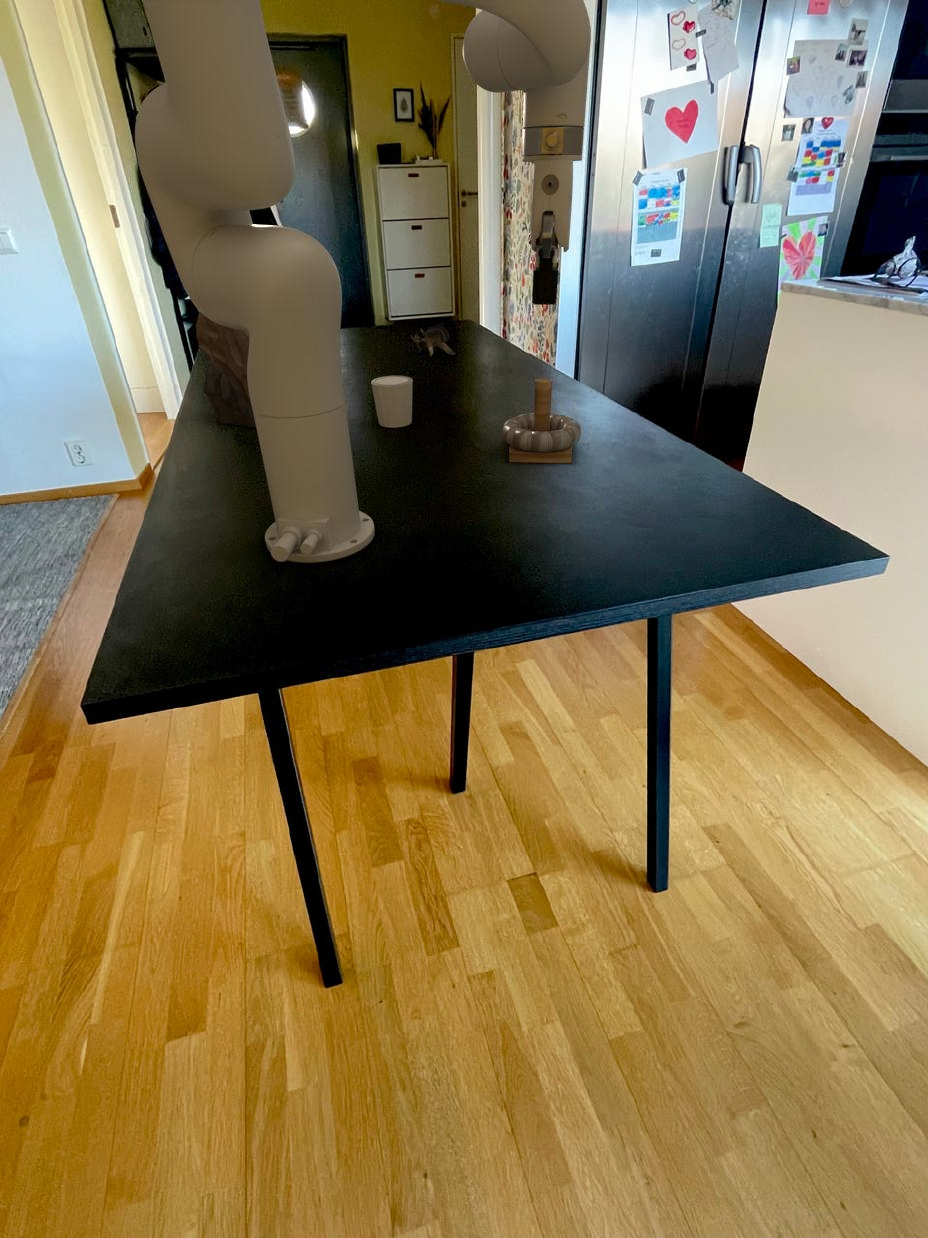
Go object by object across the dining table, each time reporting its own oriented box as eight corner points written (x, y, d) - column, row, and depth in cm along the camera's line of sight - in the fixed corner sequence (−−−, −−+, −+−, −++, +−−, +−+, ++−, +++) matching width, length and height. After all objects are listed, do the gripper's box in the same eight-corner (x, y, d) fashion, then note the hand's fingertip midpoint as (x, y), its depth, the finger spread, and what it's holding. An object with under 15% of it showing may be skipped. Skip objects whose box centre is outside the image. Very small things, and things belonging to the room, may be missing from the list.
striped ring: (580, 455, 94) (581, 436, 92) (498, 453, 95) (498, 434, 94) (580, 429, 103) (581, 411, 102) (506, 427, 105) (506, 409, 103)
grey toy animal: (411, 353, 150) (449, 346, 148) (409, 322, 150) (446, 314, 148) (422, 365, 158) (458, 358, 155) (419, 335, 158) (456, 328, 155)
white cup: (409, 429, 110) (406, 386, 106) (369, 427, 111) (365, 385, 107) (419, 416, 115) (417, 375, 111) (382, 415, 116) (378, 374, 113)
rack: (571, 463, 95) (576, 388, 90) (509, 462, 96) (510, 388, 91) (570, 441, 103) (575, 371, 97) (512, 441, 104) (513, 371, 98)
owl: (208, 422, 116) (177, 296, 104) (253, 402, 125) (229, 284, 114) (268, 429, 111) (242, 299, 100) (309, 408, 121) (291, 286, 110)
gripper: (585, 142, 75) (573, 308, 84) (581, 149, 89) (571, 290, 98) (518, 144, 75) (514, 308, 85) (525, 150, 90) (520, 290, 99)
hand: (544, 298), depth 92 cm, fingers open, 9 cm apart
